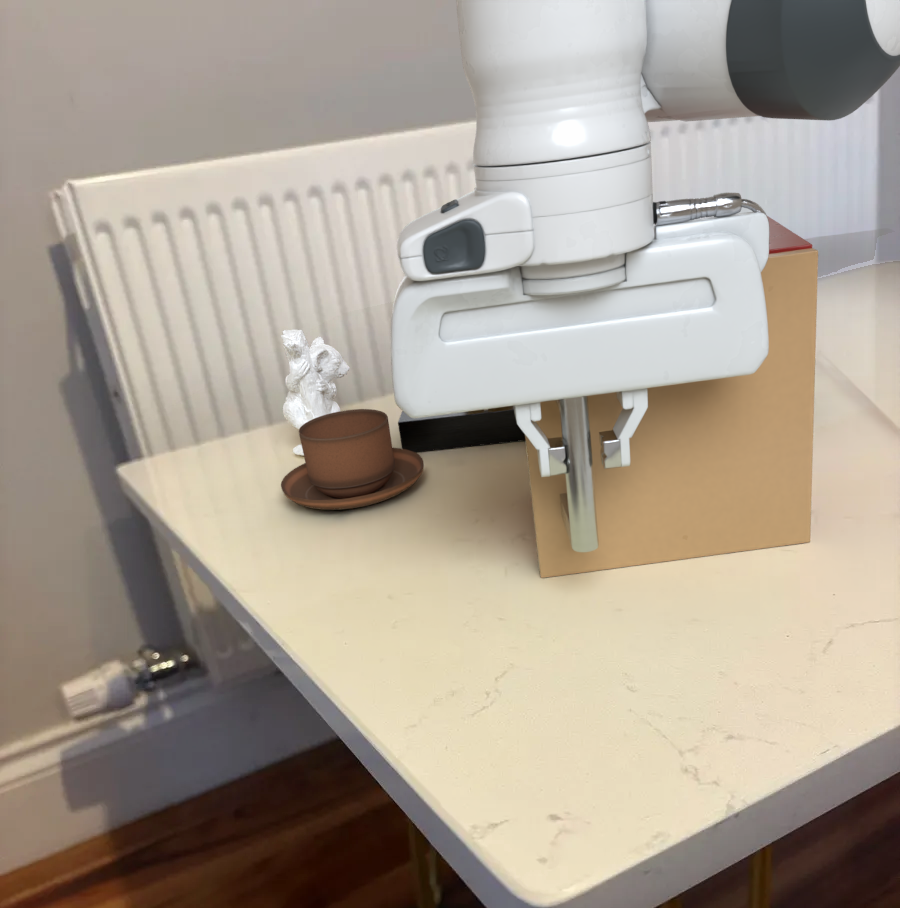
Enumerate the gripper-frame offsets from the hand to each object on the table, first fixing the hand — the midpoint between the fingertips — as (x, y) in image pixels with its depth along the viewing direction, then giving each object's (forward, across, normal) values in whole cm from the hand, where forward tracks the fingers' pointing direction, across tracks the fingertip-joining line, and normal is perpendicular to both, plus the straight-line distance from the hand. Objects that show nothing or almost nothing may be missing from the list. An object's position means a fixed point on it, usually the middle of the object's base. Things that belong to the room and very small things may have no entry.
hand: (584, 468), depth 59 cm
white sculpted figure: (+10, +20, -38) cm, 44 cm away
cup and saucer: (+9, +16, -25) cm, 32 cm away
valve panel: (+9, +6, -39) cm, 40 cm away
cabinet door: (+9, -6, -2) cm, 11 cm away
